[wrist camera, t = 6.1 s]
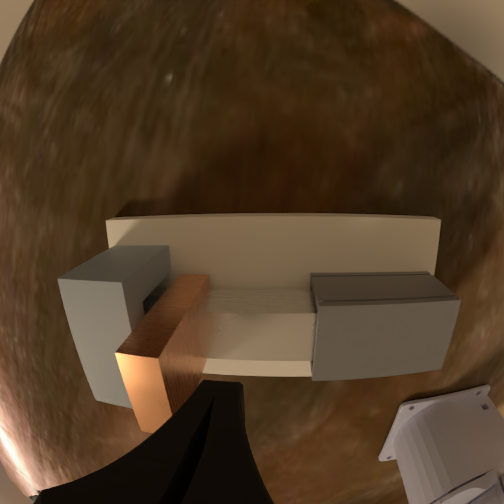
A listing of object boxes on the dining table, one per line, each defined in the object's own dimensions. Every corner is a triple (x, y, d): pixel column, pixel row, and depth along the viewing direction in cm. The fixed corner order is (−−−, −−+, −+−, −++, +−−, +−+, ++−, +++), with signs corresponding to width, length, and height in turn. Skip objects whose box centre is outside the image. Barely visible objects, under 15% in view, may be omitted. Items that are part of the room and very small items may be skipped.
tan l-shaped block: (338, 275, 15) (380, 362, 8) (332, 340, 17) (356, 442, 9) (130, 272, 16) (49, 340, 9) (141, 333, 18) (81, 414, 10)
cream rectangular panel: (433, 216, 15) (480, 236, 11) (407, 360, 18) (432, 407, 13) (114, 217, 17) (64, 237, 12) (138, 356, 20) (108, 400, 15)
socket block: (168, 245, 16) (121, 282, 11) (182, 353, 18) (153, 412, 13) (114, 245, 17) (57, 278, 11) (133, 347, 18) (95, 399, 13)
